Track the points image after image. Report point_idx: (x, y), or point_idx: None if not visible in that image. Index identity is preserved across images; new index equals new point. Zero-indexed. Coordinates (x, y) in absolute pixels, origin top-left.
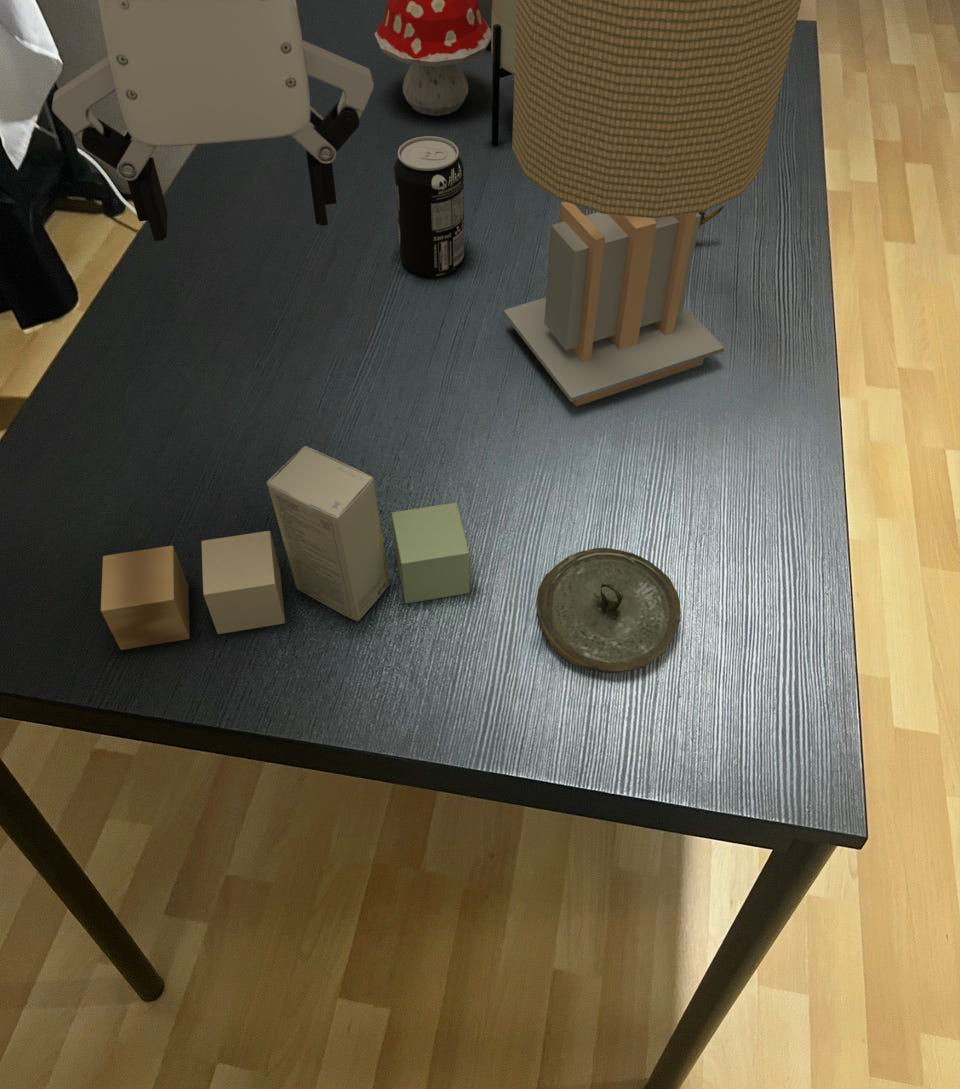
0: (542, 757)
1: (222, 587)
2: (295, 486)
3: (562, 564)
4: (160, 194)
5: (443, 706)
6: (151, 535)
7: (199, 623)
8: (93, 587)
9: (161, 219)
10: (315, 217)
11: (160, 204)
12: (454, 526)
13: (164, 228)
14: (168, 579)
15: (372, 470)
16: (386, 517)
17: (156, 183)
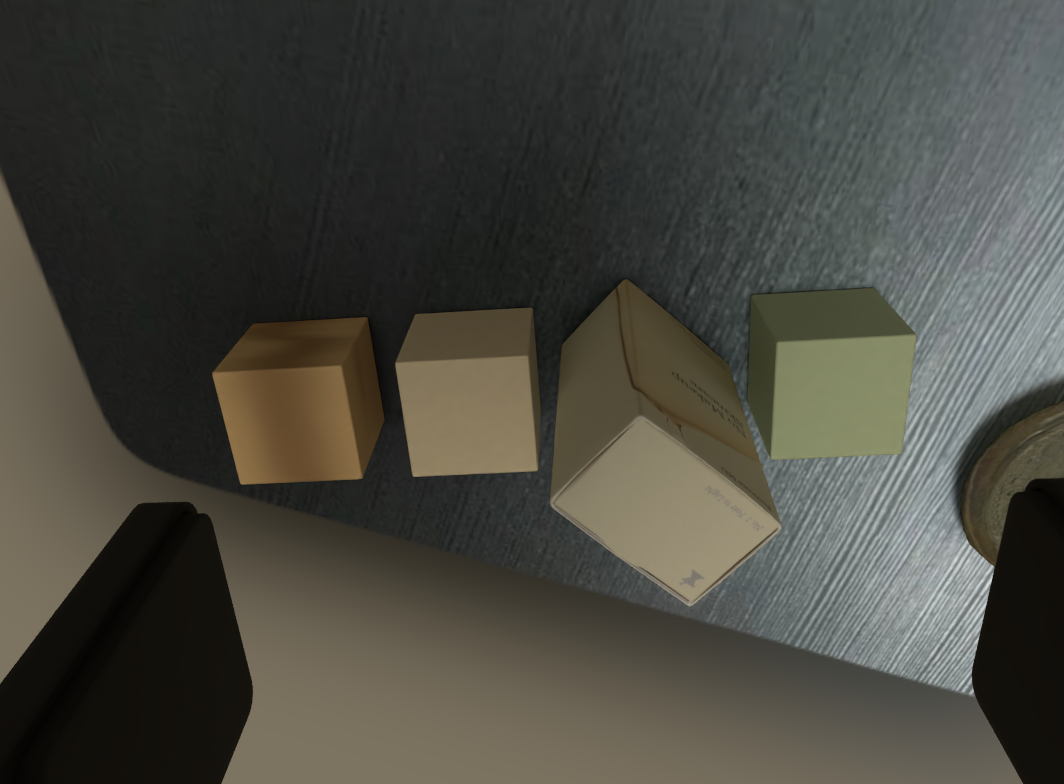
0: (880, 648)
1: (445, 467)
2: (611, 523)
3: (1055, 414)
4: (164, 667)
5: (767, 570)
6: (276, 185)
7: (397, 392)
8: (196, 296)
9: (219, 772)
10: (990, 723)
11: (187, 727)
12: (893, 393)
13: (236, 709)
14: (346, 440)
15: (743, 55)
16: (750, 201)
17: (133, 776)
